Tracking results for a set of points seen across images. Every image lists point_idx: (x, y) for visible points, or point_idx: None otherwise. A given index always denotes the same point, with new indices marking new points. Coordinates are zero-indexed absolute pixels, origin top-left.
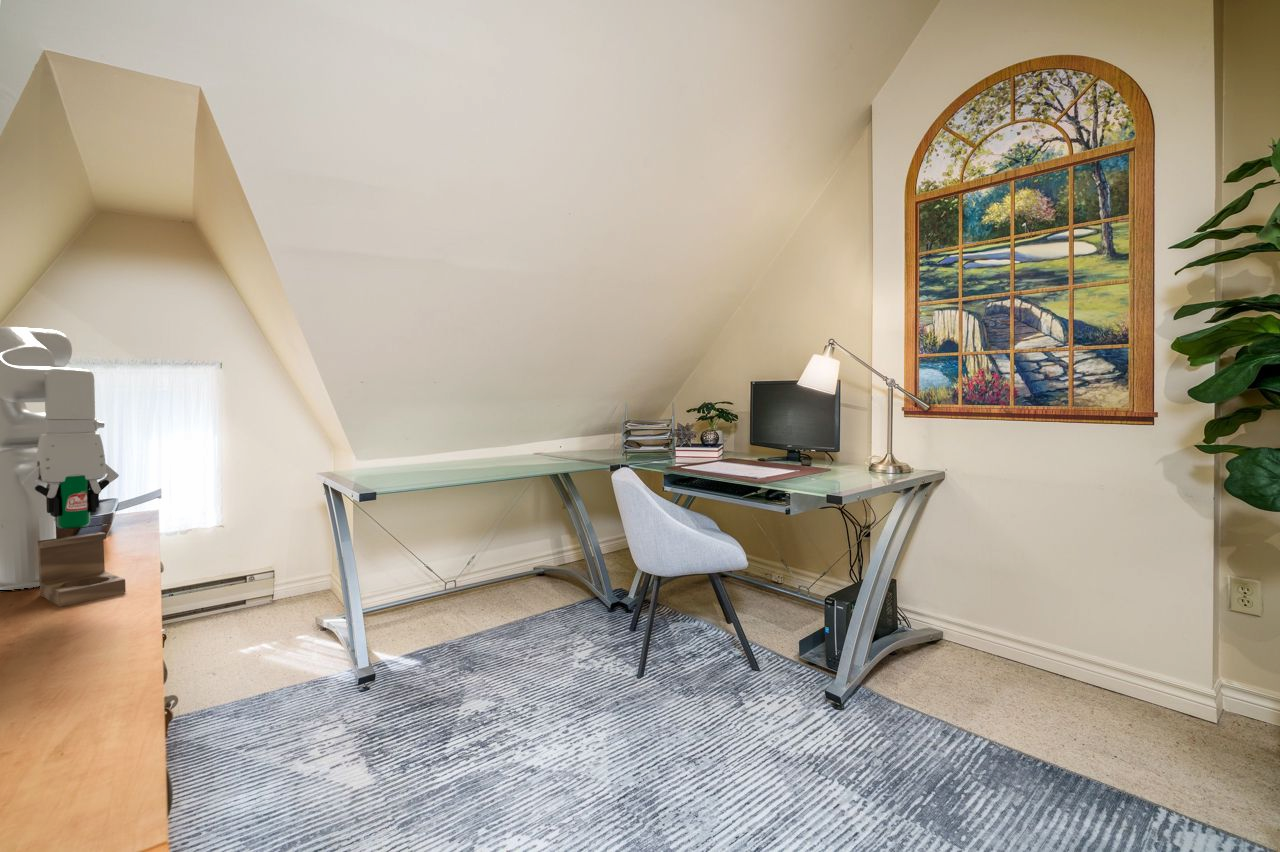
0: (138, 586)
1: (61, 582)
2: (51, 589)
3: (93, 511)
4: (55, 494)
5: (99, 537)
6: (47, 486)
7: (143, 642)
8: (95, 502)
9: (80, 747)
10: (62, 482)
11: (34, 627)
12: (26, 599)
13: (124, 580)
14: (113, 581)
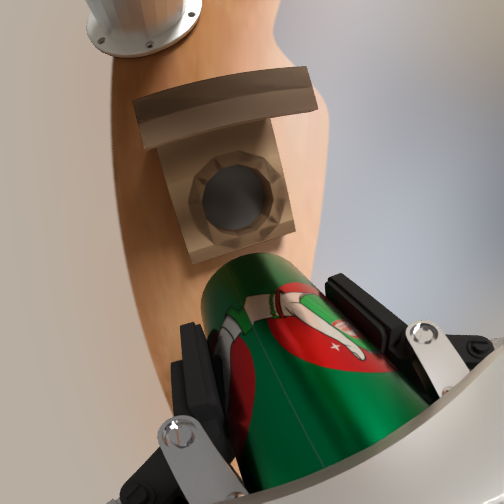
0: (306, 188)
1: (189, 164)
2: (173, 206)
3: None
4: (232, 467)
5: (297, 112)
6: (192, 492)
7: None
8: None
9: None
10: None
11: (173, 350)
12: (133, 142)
13: (293, 231)
14: (277, 236)
